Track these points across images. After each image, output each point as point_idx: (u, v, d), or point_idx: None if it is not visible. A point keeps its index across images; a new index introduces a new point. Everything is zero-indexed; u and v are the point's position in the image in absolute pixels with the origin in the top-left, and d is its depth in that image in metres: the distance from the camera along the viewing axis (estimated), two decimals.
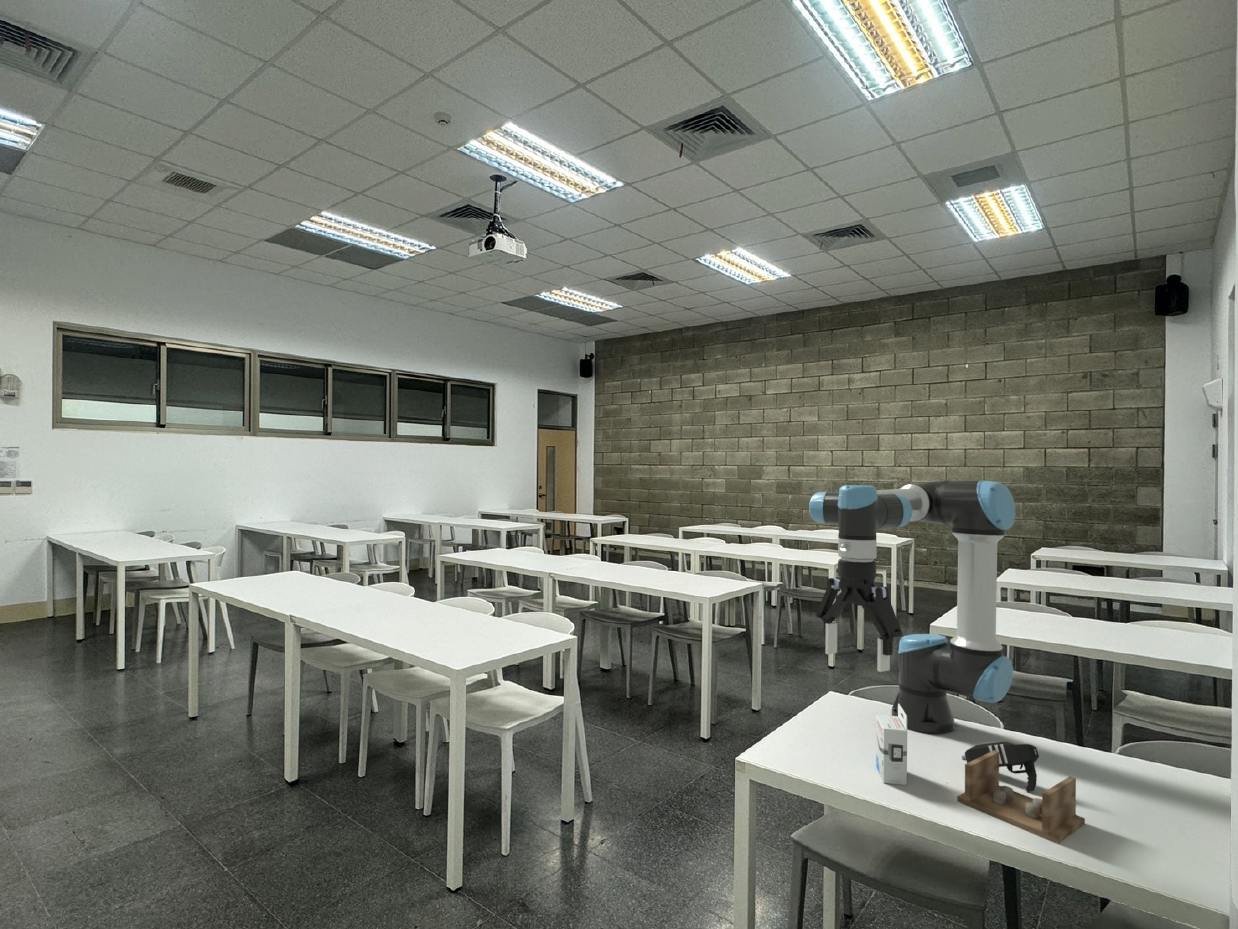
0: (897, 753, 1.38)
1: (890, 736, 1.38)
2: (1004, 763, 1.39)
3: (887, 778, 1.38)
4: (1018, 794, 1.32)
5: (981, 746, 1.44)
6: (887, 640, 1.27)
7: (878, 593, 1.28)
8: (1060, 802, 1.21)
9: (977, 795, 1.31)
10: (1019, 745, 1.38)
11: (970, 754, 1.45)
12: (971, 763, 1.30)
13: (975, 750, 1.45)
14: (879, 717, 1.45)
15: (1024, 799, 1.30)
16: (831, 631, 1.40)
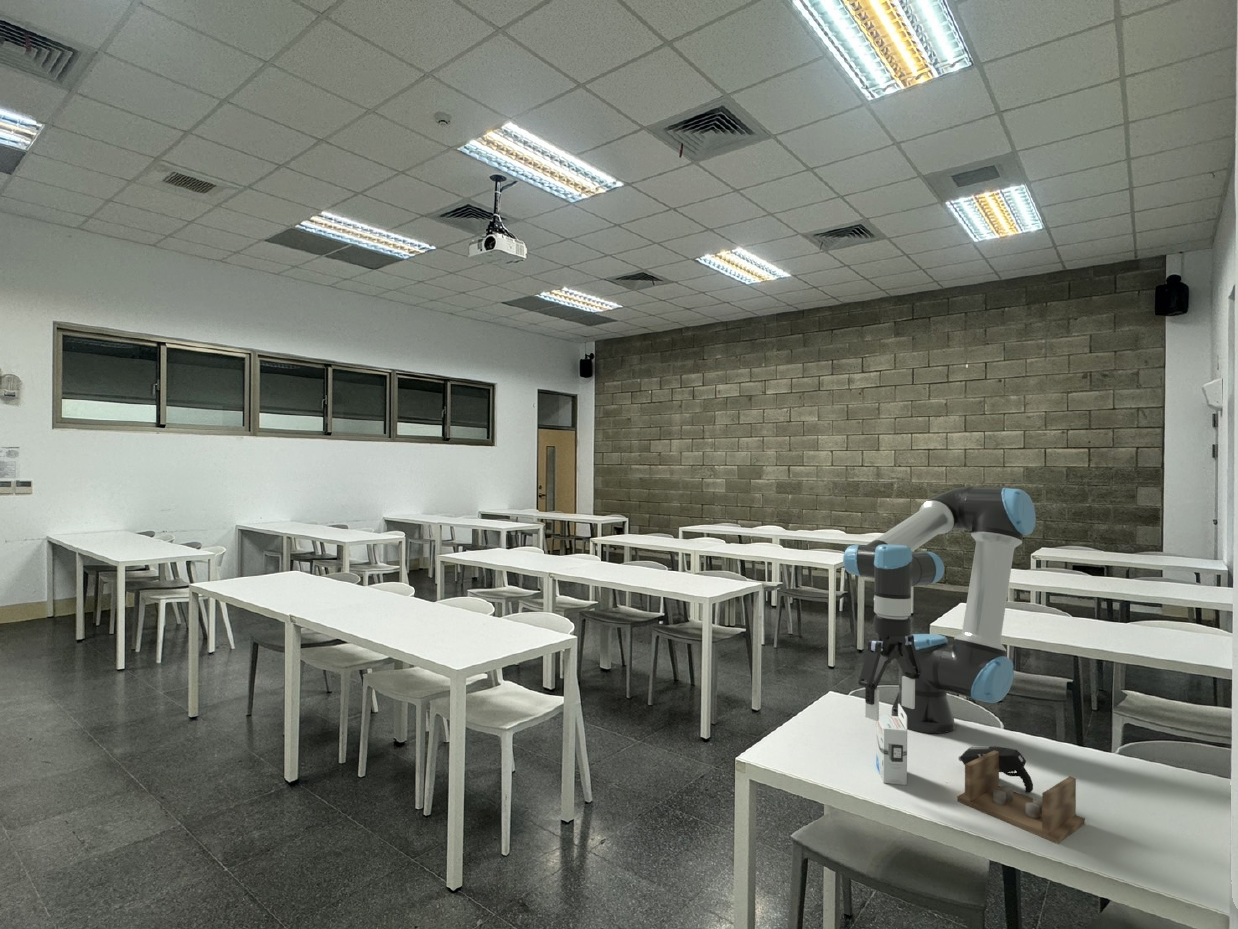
0: (898, 753, 1.38)
1: (890, 736, 1.38)
2: None
3: (887, 778, 1.38)
4: (1018, 794, 1.32)
5: (972, 754, 1.42)
6: None
7: None
8: (1060, 802, 1.21)
9: (977, 795, 1.31)
10: (1004, 756, 1.35)
11: (965, 761, 1.44)
12: (971, 763, 1.30)
13: (967, 757, 1.43)
14: (879, 717, 1.45)
15: (1024, 799, 1.30)
16: (905, 685, 1.46)
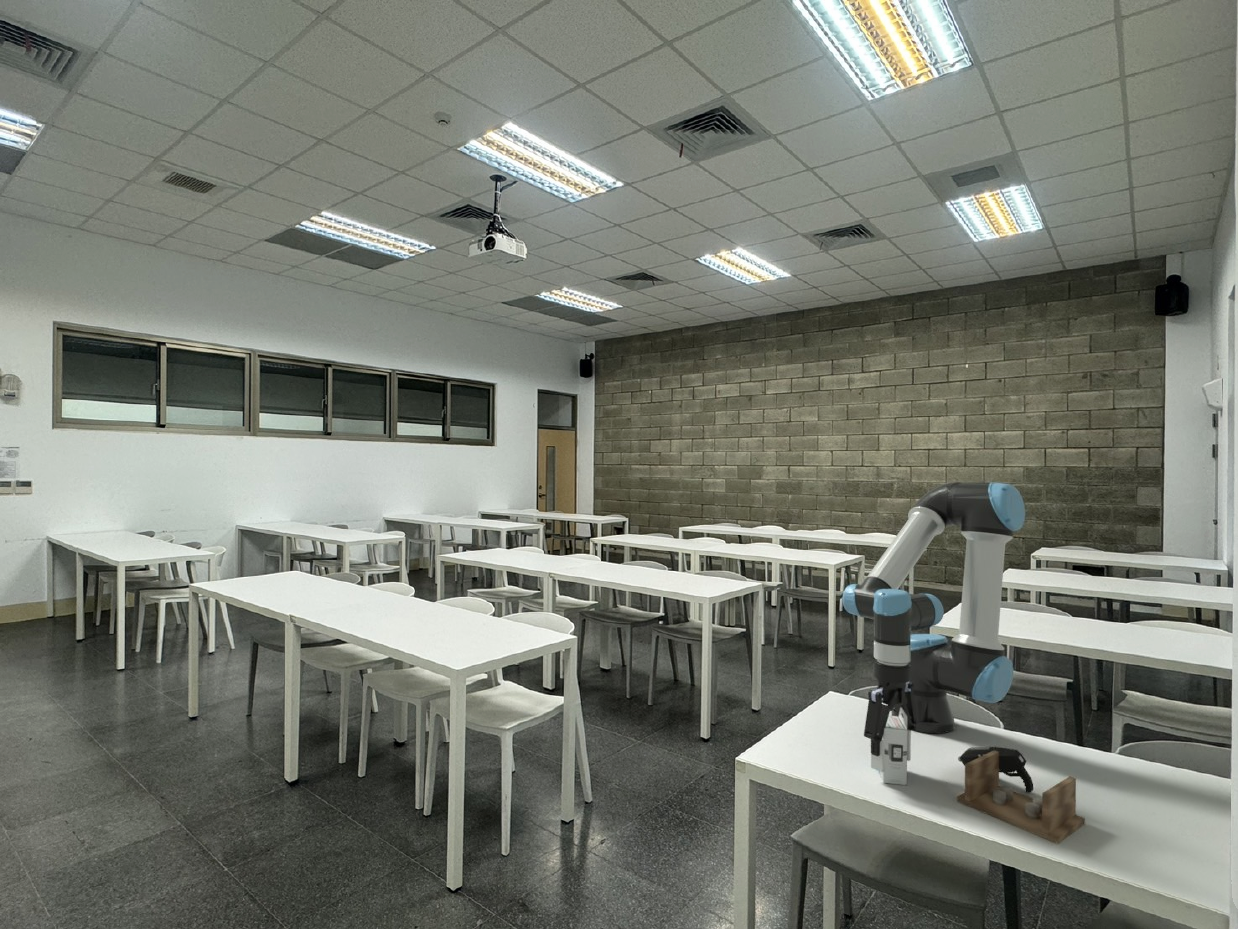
0: (897, 753, 1.38)
1: (890, 736, 1.38)
2: None
3: (887, 778, 1.38)
4: (1018, 794, 1.32)
5: (972, 755, 1.42)
6: None
7: None
8: (1060, 802, 1.21)
9: (977, 795, 1.31)
10: (1005, 757, 1.35)
11: (965, 761, 1.44)
12: (971, 763, 1.30)
13: (967, 758, 1.43)
14: None
15: (1024, 799, 1.30)
16: None
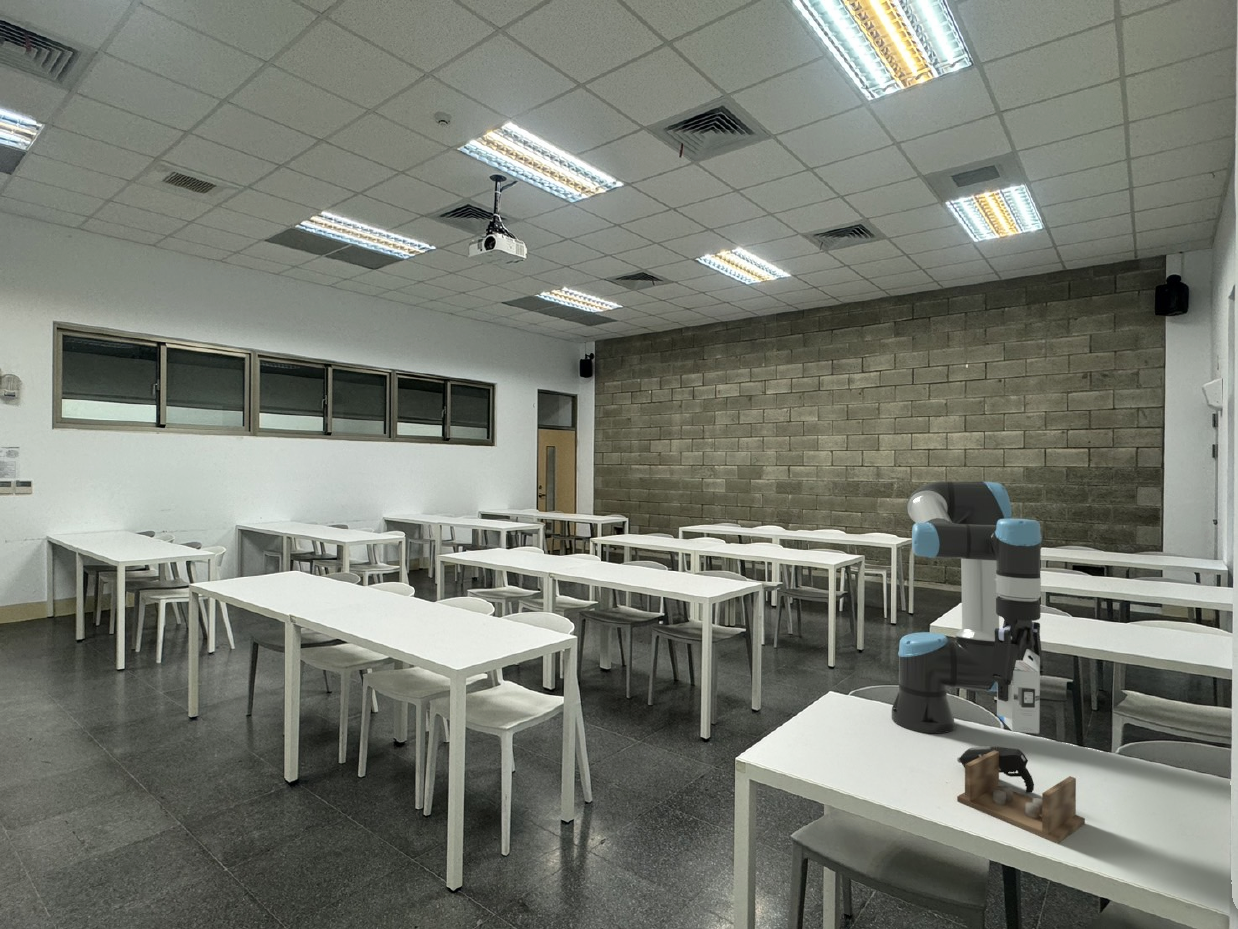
0: (1029, 698, 1.23)
1: (1020, 679, 1.24)
2: None
3: (1016, 726, 1.24)
4: (1018, 794, 1.32)
5: (972, 755, 1.42)
6: (998, 684, 1.24)
7: None
8: (1060, 802, 1.21)
9: (977, 795, 1.31)
10: (1007, 756, 1.35)
11: (964, 762, 1.44)
12: (971, 763, 1.30)
13: (967, 758, 1.43)
14: None
15: (1024, 799, 1.30)
16: None
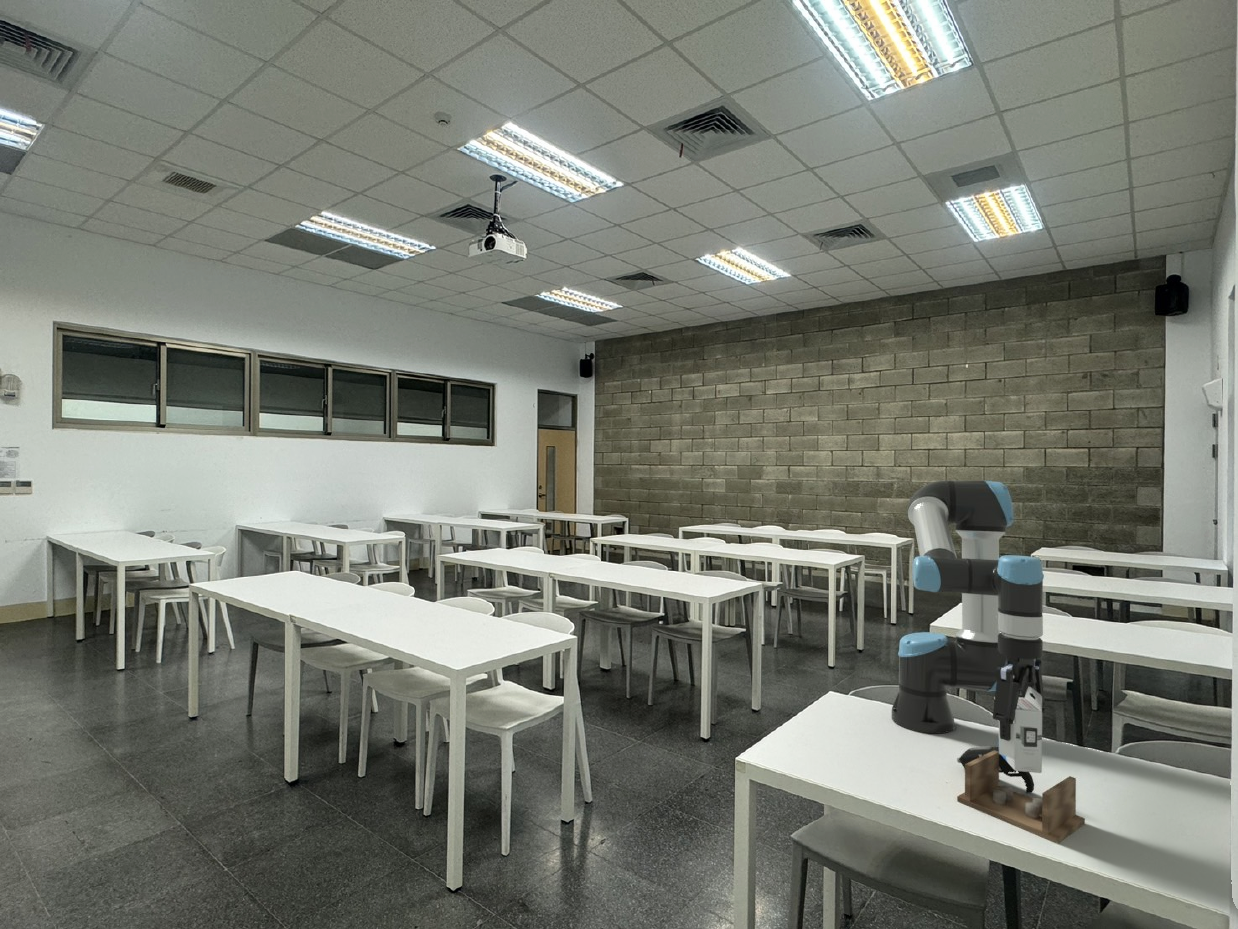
0: (1031, 737, 1.23)
1: (1022, 718, 1.23)
2: (999, 771, 1.37)
3: (1019, 765, 1.23)
4: (1018, 794, 1.32)
5: (972, 755, 1.42)
6: (1000, 723, 1.24)
7: None
8: (1060, 802, 1.21)
9: (977, 795, 1.31)
10: None
11: (964, 762, 1.44)
12: (971, 763, 1.30)
13: (967, 758, 1.43)
14: None
15: (1024, 799, 1.30)
16: None
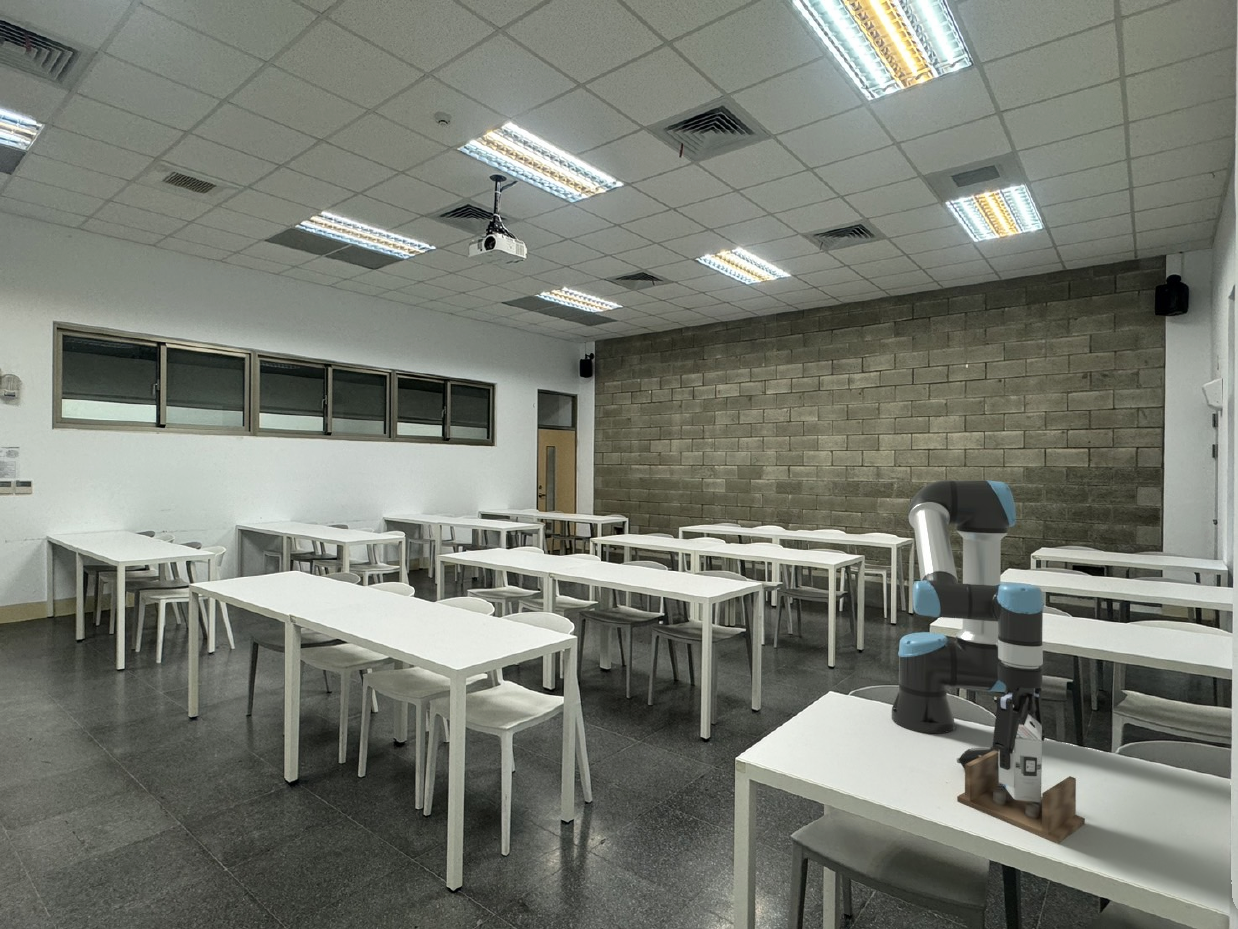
0: (1031, 766, 1.23)
1: (1022, 747, 1.23)
2: None
3: (1018, 794, 1.23)
4: None
5: (972, 756, 1.41)
6: (1000, 752, 1.24)
7: None
8: (1060, 802, 1.21)
9: (977, 795, 1.31)
10: None
11: (964, 762, 1.43)
12: (971, 763, 1.30)
13: (967, 759, 1.42)
14: None
15: None
16: None
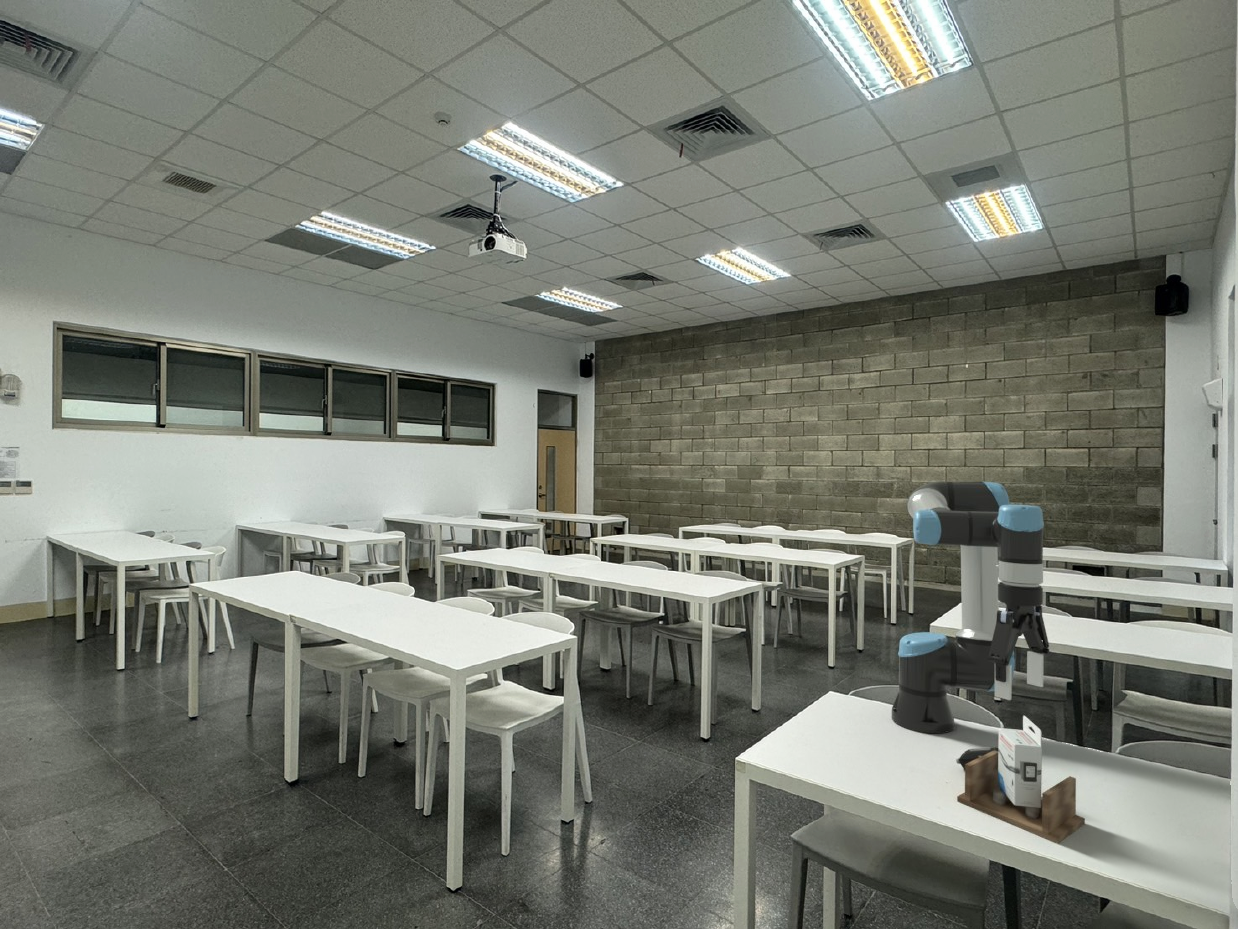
0: (1031, 772, 1.23)
1: (1022, 753, 1.23)
2: None
3: (1018, 800, 1.23)
4: None
5: (972, 756, 1.41)
6: (995, 664, 1.23)
7: None
8: (1060, 802, 1.21)
9: (977, 795, 1.31)
10: None
11: (964, 763, 1.43)
12: (971, 763, 1.30)
13: (967, 759, 1.42)
14: (1003, 731, 1.30)
15: None
16: (1032, 660, 1.31)
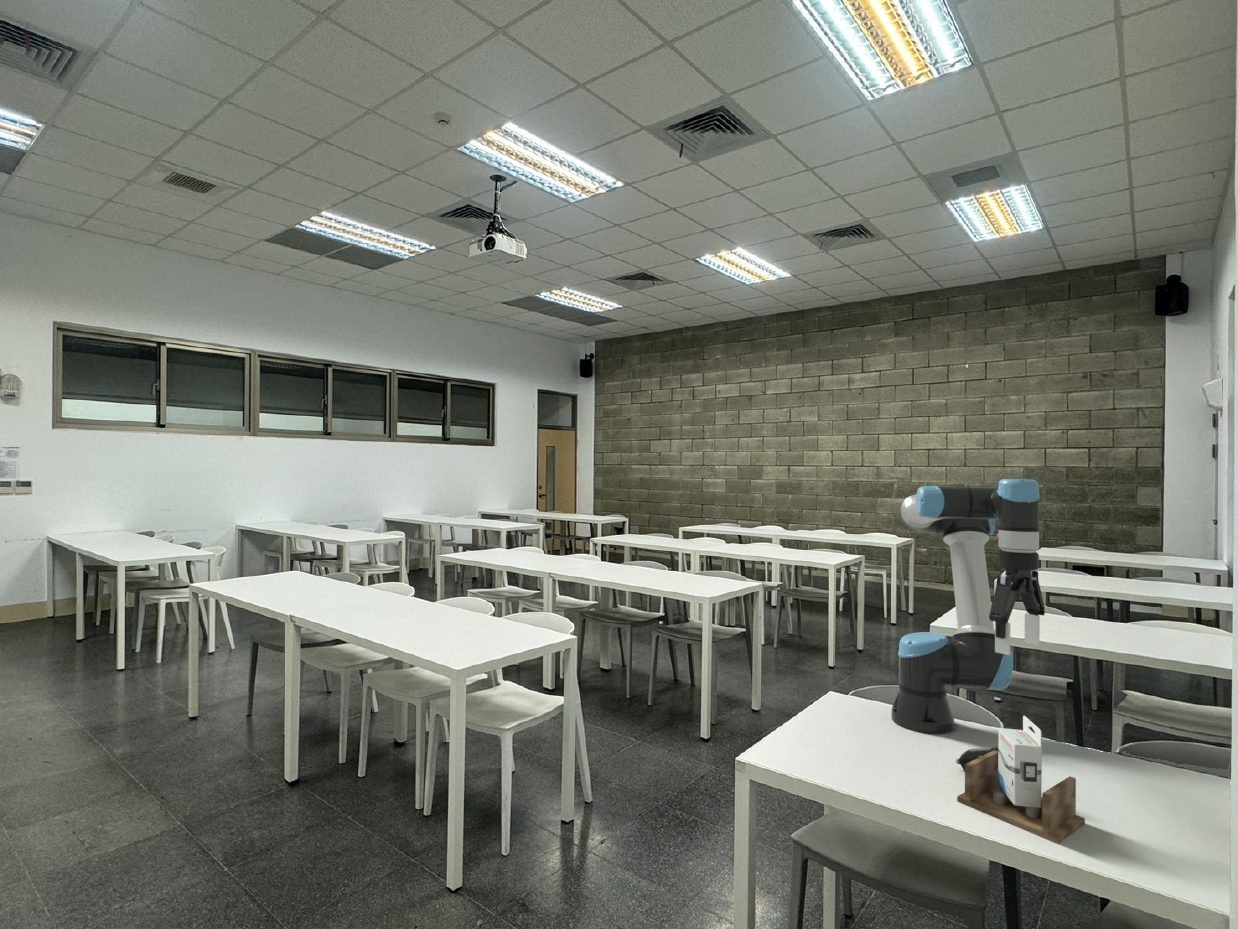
0: (1031, 772, 1.23)
1: (1022, 753, 1.23)
2: None
3: (1018, 800, 1.23)
4: None
5: (972, 756, 1.41)
6: (996, 623, 1.36)
7: None
8: (1060, 802, 1.21)
9: (977, 795, 1.31)
10: None
11: (964, 763, 1.43)
12: (971, 763, 1.30)
13: (967, 760, 1.42)
14: (1003, 731, 1.30)
15: None
16: (1029, 622, 1.44)
